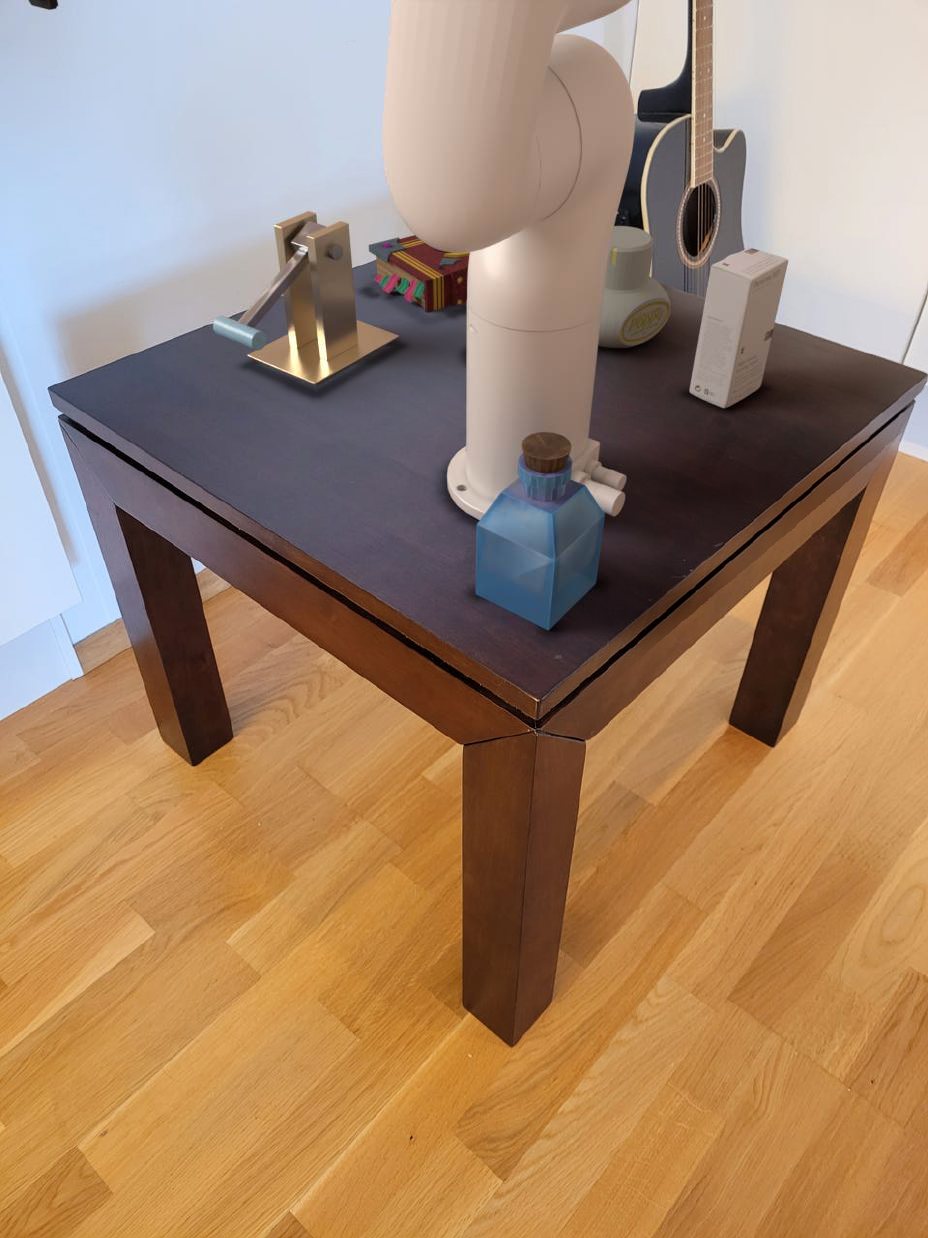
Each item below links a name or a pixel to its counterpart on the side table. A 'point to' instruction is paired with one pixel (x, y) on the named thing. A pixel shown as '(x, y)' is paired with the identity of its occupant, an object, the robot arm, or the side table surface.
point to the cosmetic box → (737, 326)
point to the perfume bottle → (540, 536)
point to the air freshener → (631, 292)
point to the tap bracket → (320, 308)
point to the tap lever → (267, 296)
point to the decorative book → (421, 272)
